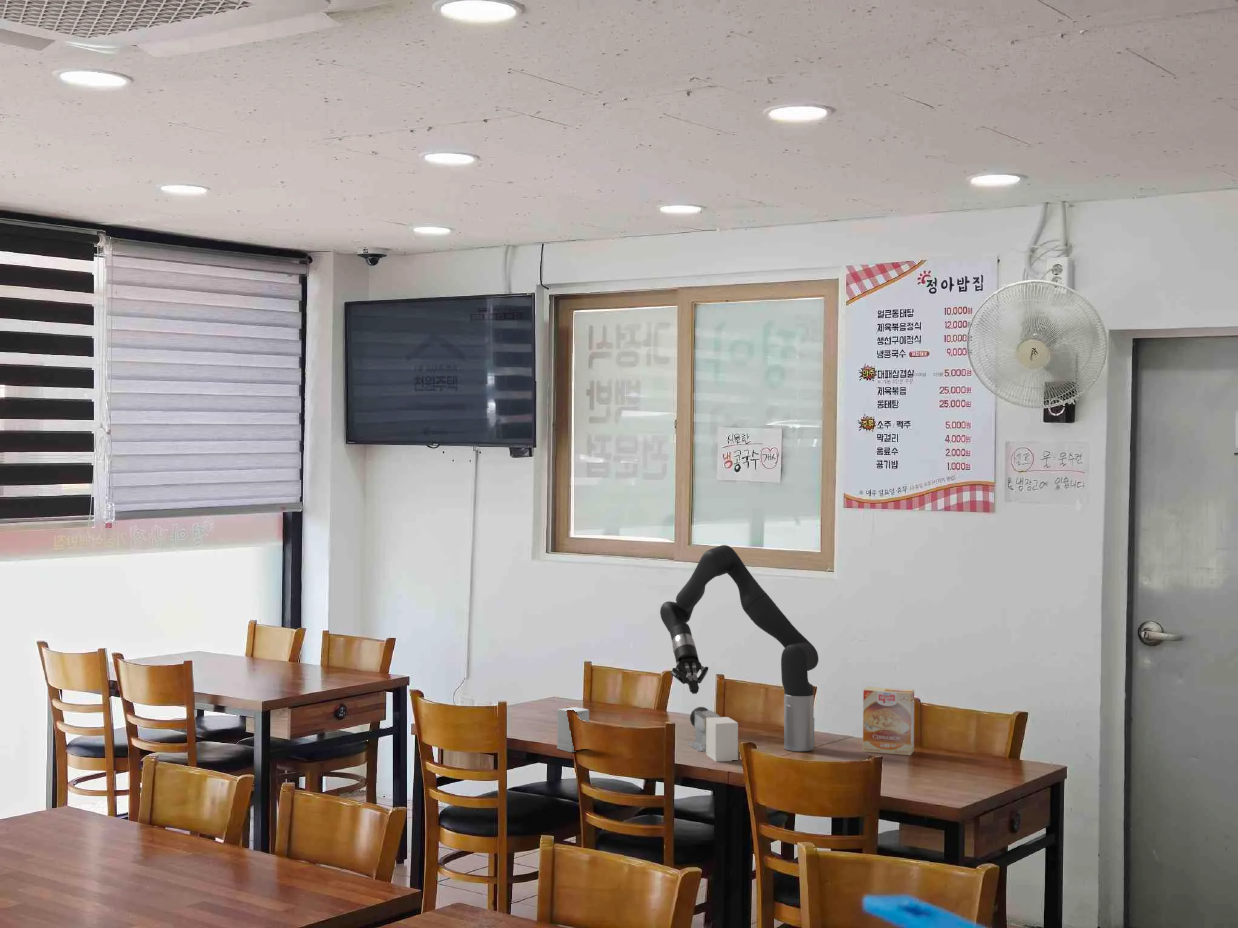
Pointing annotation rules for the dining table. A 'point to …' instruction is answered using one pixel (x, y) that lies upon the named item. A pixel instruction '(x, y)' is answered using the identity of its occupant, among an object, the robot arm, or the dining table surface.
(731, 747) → the white rectangular block
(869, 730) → the coffeecake box
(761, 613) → the robot arm
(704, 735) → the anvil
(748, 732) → the dining table surface
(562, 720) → the supplement box
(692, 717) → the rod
